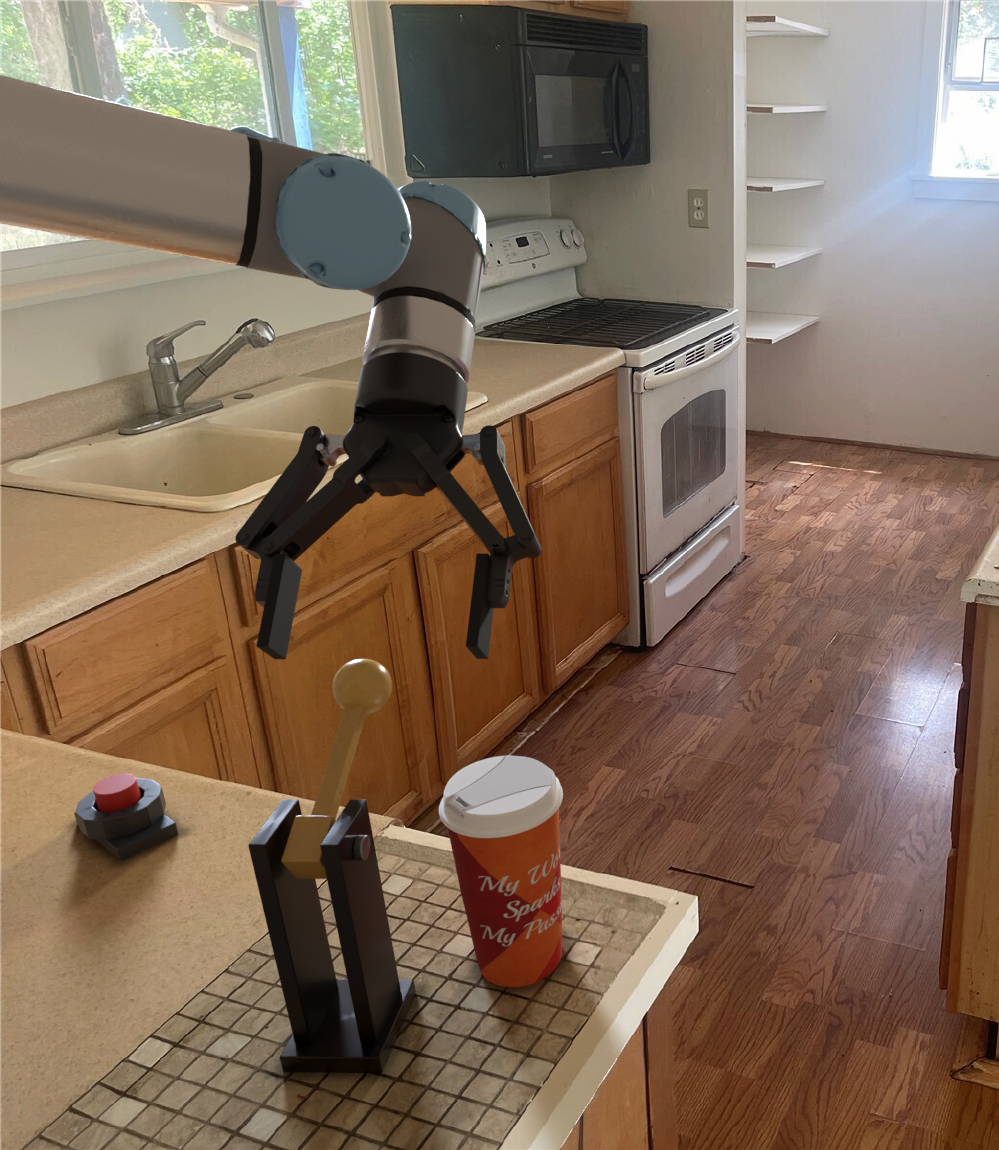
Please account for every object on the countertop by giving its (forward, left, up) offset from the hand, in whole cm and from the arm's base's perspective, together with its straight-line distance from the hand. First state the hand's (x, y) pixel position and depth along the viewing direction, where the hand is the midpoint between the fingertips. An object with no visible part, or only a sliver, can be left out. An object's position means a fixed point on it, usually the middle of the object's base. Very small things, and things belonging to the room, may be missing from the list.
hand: (374, 653), depth 71 cm
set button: (-25, -11, -18) cm, 33 cm away
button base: (-25, -11, -20) cm, 34 cm away
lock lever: (+4, -5, -5) cm, 8 cm away
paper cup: (+10, +2, -20) cm, 23 cm away
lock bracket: (+8, -9, -20) cm, 24 cm away
